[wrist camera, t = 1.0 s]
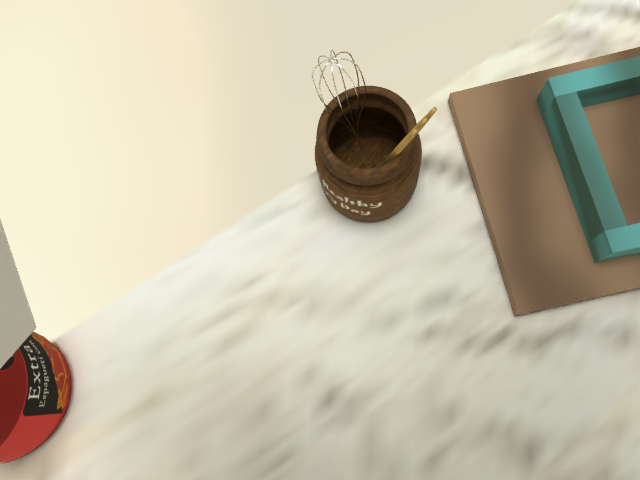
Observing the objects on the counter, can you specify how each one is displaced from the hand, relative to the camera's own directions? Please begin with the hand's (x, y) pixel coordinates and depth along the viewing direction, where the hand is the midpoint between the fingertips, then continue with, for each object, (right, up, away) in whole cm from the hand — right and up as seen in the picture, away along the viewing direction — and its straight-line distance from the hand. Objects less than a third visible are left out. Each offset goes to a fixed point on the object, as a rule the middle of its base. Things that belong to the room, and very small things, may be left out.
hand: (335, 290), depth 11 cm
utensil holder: (+3, +5, +24) cm, 25 cm away
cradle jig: (+19, +5, +22) cm, 30 cm away
